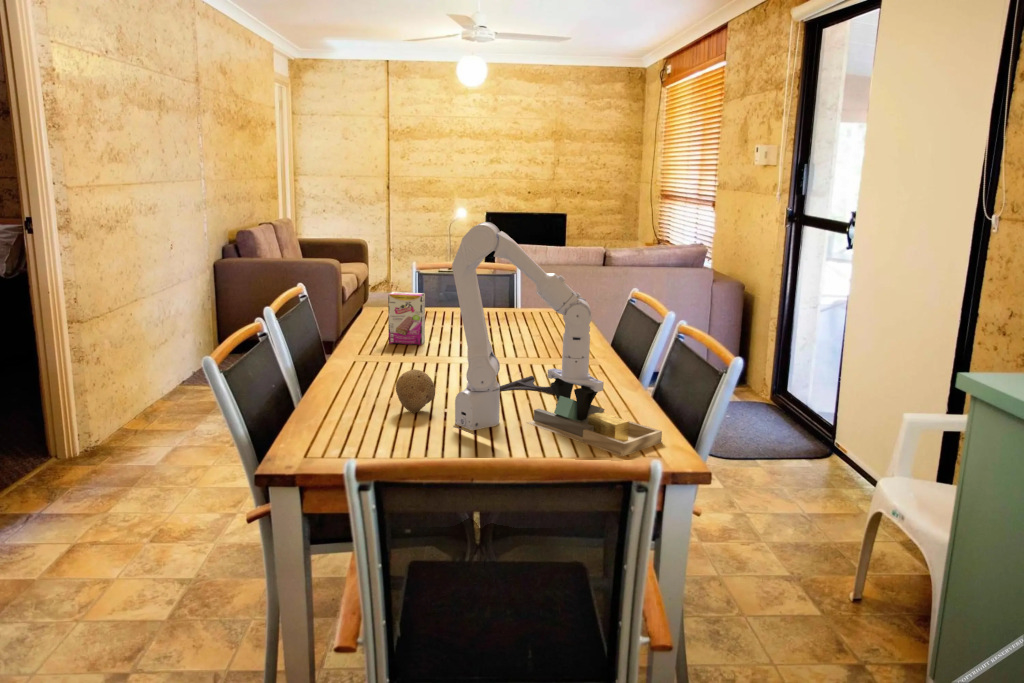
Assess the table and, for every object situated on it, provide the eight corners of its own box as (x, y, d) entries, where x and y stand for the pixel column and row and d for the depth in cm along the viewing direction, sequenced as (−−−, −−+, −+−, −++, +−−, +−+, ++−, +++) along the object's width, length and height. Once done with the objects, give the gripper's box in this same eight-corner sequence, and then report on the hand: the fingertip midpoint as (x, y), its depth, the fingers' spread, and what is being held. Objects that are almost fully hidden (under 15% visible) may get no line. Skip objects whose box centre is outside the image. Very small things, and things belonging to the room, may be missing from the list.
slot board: (622, 461, 151) (622, 444, 150) (526, 426, 170) (526, 411, 169) (662, 446, 159) (663, 430, 159) (567, 415, 179) (567, 400, 178)
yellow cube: (614, 443, 157) (615, 424, 156) (600, 438, 160) (601, 419, 160) (628, 439, 160) (629, 421, 159) (614, 434, 163) (614, 416, 162)
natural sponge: (416, 403, 186) (416, 363, 184) (443, 411, 180) (443, 369, 178) (388, 411, 179) (387, 370, 177) (415, 420, 173) (414, 376, 171)
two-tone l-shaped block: (597, 430, 165) (580, 423, 161) (570, 421, 171) (553, 414, 167) (604, 409, 166) (588, 402, 162) (577, 400, 172) (560, 393, 167)
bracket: (543, 403, 190) (543, 392, 190) (496, 392, 199) (496, 381, 198) (575, 391, 201) (576, 381, 201) (529, 381, 210) (530, 371, 210)
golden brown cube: (601, 438, 160) (602, 419, 160) (587, 433, 164) (588, 414, 163) (614, 434, 163) (615, 416, 162) (601, 429, 166) (602, 411, 165)
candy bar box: (388, 344, 249) (387, 293, 246) (392, 341, 254) (391, 291, 251) (422, 345, 248) (421, 295, 245) (425, 342, 253) (425, 292, 250)
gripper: (614, 359, 163) (611, 420, 165) (564, 347, 173) (561, 405, 176) (591, 364, 158) (588, 427, 161) (541, 351, 168) (539, 411, 171)
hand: (573, 416), depth 168 cm, fingers closed on two-tone l-shaped block, 5 cm apart
